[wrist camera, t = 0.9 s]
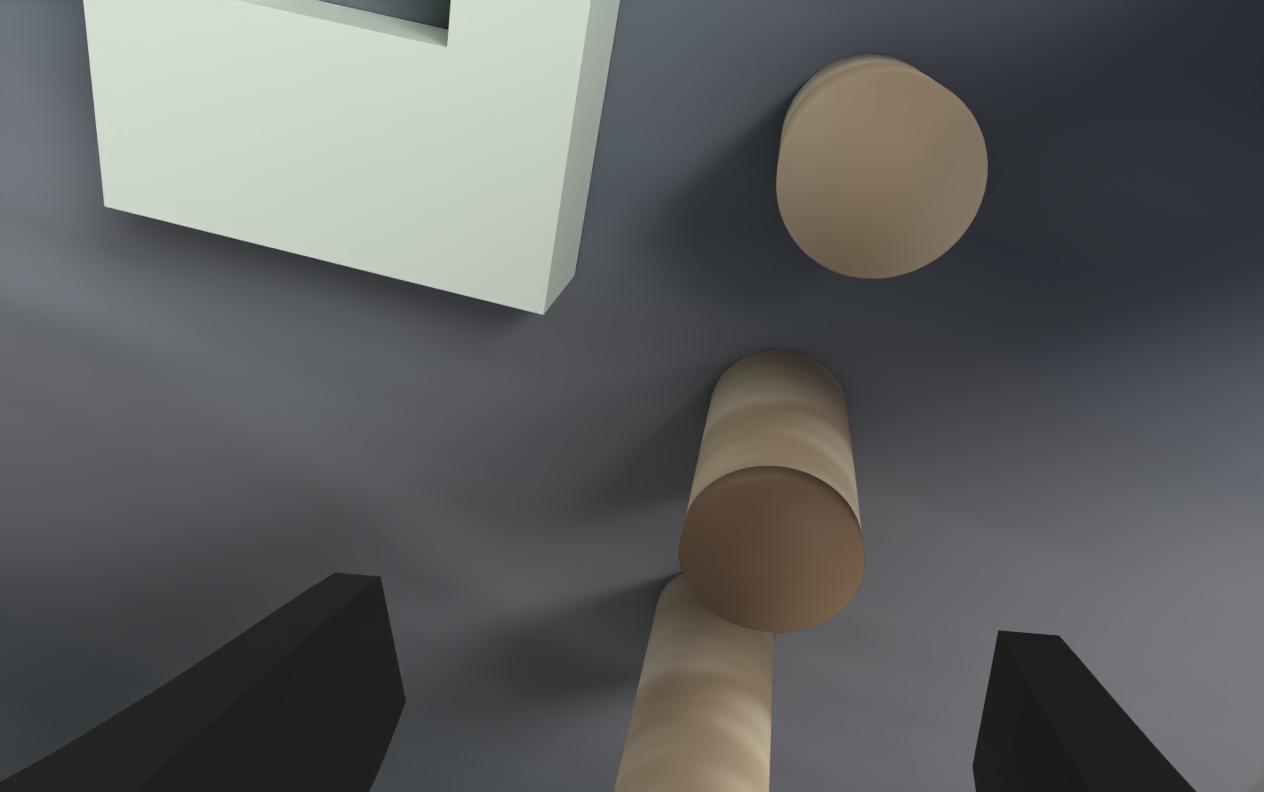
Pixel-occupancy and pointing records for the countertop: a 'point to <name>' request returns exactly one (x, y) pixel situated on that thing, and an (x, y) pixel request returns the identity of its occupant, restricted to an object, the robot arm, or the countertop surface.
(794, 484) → the dowel medium
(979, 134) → the dowel short
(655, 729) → the dowel long
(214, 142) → the board
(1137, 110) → the countertop surface
